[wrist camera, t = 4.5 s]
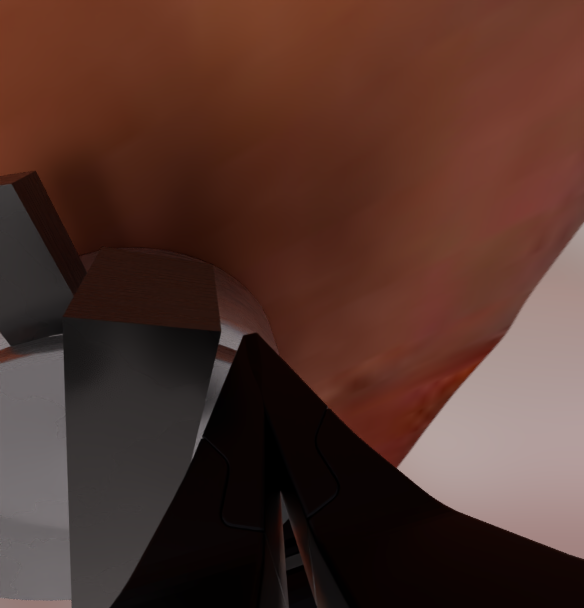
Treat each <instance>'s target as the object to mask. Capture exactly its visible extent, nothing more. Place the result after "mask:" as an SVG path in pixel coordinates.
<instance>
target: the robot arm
mask: <svg viewBox="0 0 584 608" xmlns="http://www.w3.org/2000/svg"><path fill="white" fill-rule="evenodd" d="M280 492H281V495H282V498H283V501H284V504H285V507H286V511H287V514H288V517H289V519H288V520H287V521H286V522H285V523H284V524H283V522H282V509H281V495H280ZM109 608H584V559H582V558H579V557H575V556H572V555H569V554H567V553H564V552H561V551H559V550H556V549H553V548H551V547H548V546H546V545H543V544H541V543H538V542H535V541H533V540H530V539H528V538H525V537H522V536H520V535H517V534H514V533H512V532H509V531H507V530H504V529H501V528H499V527H496V526H494V525H491V524H489V523H486V522H483V521H481V520H478V519H476V518H473V517H470V516H468V515H465V514H463V513H460V512H458V511H455V510H454V509H452V508H450V507H448V506H446V505H444V504H442V503H441V502H439V501H437V500H436V499H435V498H433V497H432V496H430V495H429V494H428V493H426V492H425V491H424V490H422V489H421V488H420V487H419V486H417V485H416V484H415V483H414V482H413V481H411V480H410V479H409V478H408V477H406V476H405V475H404V474H403V473H402V472H400V471H399V470H398V469H397V468H395V467H394V466H393V465H392V464H391V463H389V462H388V461H387V460H386V459H384V458H383V457H382V456H381V455H379V454H378V453H377V452H376V451H375V450H373V449H372V448H371V447H370V446H369V445H368V444H366V443H365V442H364V441H363V440H362V439H361V438H359V437H358V436H357V435H356V434H355V433H354V432H353V431H352V430H351V429H350V428H349V427H348V426H347V425H346V424H345V423H344V422H343V421H341V420H340V419H339V417H338V416H337V415H336V414H335V413H334V412H333V411H332V410H331V409H330V408H328V406H327V405H326V404H325V403H324V402H323V401H322V400H321V399H320V398H319V397H318V396H317V395H316V394H315V393H314V391H313V390H312V389H311V388H310V387H309V386H308V385H307V384H306V383H305V382H304V381H303V380H302V379H301V378H300V377H299V376H298V375H297V374H296V373H295V372H294V371H293V369H292V368H291V367H290V366H289V365H288V364H287V363H286V362H285V361H284V360H283V359H282V358H281V357H280V356H279V355H278V354H277V353H276V352H275V351H274V350H273V349H272V347H271V346H270V345H269V344H268V343H267V342H266V341H265V340H264V339H263V338H262V337H261V336H260V335H259V333H257V332H256V333H251V334H246V335H243V336H242V340H241V342H240V344H239V347H238V349H237V352H236V354H235V357H234V359H233V362H232V364H231V366H230V369H229V371H228V374H227V376H226V379H225V381H224V384H223V386H222V388H221V391H220V393H219V396H218V398H217V401H216V403H215V406H214V408H213V410H212V413H211V415H210V418H209V420H208V423H207V425H206V428H205V430H204V432H203V435H202V439H201V440H200V442H199V444H198V447H197V449H196V452H195V454H194V456H193V459H192V461H191V463H190V465H189V467H188V470H187V472H186V474H185V476H184V478H183V480H182V482H181V484H180V486H179V488H178V490H177V492H176V494H175V496H174V498H173V500H172V502H171V503H170V505H169V507H168V509H167V511H166V512H165V514H164V516H163V518H162V520H161V522H160V523H159V525H158V527H157V529H156V531H155V533H154V534H153V536H152V538H151V540H150V542H149V544H148V545H147V547H146V549H145V551H144V553H143V554H142V556H141V558H140V560H139V562H138V564H137V565H136V567H135V569H134V571H133V573H132V574H131V576H130V578H129V580H128V581H127V583H126V584H125V586H124V587H123V589H122V590H121V592H120V593H119V595H118V596H117V598H116V599H115V600H114V602H113V603H112V605H111V606H110V607H109Z"/></svg>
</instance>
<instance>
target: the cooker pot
mask: <svg viewBox="0 0 584 608" xmlns="http://www.w3.org/2000/svg"><path fill="white" fill-rule="evenodd" d="M117 249H122V250H128V251H134V252H141V253H147V254H153V255H159V256H165V257H172V258H178V259H184V260H190V261H197V262H203V263H207V262H205V261H203V260H200V259H197V258H194V257H191V256H188V255H185V254H181V253H176V252H172V251H167V250H161V249H151V248H117ZM98 252H99V251H96V252H92V253H88V254H84V255H80V256H79V255H78V253H77V251H76V249H75V247H74V245H73V243H72V241H71V239H70V237H69V235H68V233H67V232H66V230H65V228H64V226H63V224H62V222H61V220H60V218H59V216H58V214H57V212H56V210H55V208H54V206H53V204H52V202H51V200H50V198H49V196H48V194H47V192H46V190H45V188H44V186H43V184H42V182H41V180H40V178H39V176H38V174H37V172H36V171H30V172H23V173H17V174H10V175H4V176H0V350H2V349H4V348H7V347H10V346H14V345H18V344H21V343H25V342H29V341H33V340H36V339H40V338H44V337H51V336H57V335H63V323H62V317H63V315H64V313H65V311H66V309H67V308H68V306H69V304H70V302H71V300H72V299H73V297H74V295H75V293H76V292H77V290H78V288H79V286H80V284H81V283H82V281H83V279H84V277H85V276H86V274H87V272H88V270H89V268H90V267H91V265H92V263H93V261H94V259H95V258H96V256H97V254H98ZM213 267H214V275H215V283H216V291H217V299H218V307H219V315H220V323H221V331H222V332H221V336H220V340H219V344H220V345H223V346H226V347H229V348H231V349H234V350H237V349H238V347H239V344H240V342H241V340H242V336H243V335H246V334H251V333H256V332H257V333H259V335H260V336H261V337H262V338H263V339H264V340H265V341H266V342H267V343H268V344H269V345H270V346H271V347H272V349H273V350H274V351H275V352H276V353H277V354H278V355H279V356H280V354H279V351H278V348H277V345H276V342H275V339H274V336H273V333H272V330H271V327H270V324H269V321H268V319H267V317H266V315H265V312H264V310H263V309H262V307H261V306H260V304H259V303H258V301H257V300H256V298H255V297H254V296H253V295H252V294H251V293H250V292H249V291H248V290H247V288H245V287H244V286H243V285H242V284H241V283H240V282H238V281H237V280H236V279H235V278H234V277H232V276H230V275H229V274H227V273H226V272H224V271H223V270H221V269H219V268H217V267H215V266H213Z"/></svg>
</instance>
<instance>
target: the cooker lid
mask: <svg viewBox="0 0 584 608" xmlns="http://www.w3.org/2000/svg"><path fill="white" fill-rule="evenodd" d="M62 323H63V335H57V336H51V337H44V338H40V339H36V340H33V341H29V342H25V343H21V344H18V345H14V346H10V347H7V348H4V349H2V350H0V598H9V599H22V600H72V608H109V607H110V606H111V605H112V603H113V602H114V600H115V599H116V598H117V596H118V595H119V593H120V592H121V590H122V589H123V587H124V586H125V584H126V583H127V581H128V580H129V578H130V576H131V574H132V573H133V571H134V569H135V567H136V565H137V564H138V562H139V560H140V558H141V556H142V554H143V553H144V551H145V549H146V547H147V545H148V544H149V542H150V540H151V538H152V536H153V534H154V533H155V531H156V529H157V527H158V525H159V523H160V522H161V520H162V518H163V516H164V514H165V512H166V511H167V509H168V507H169V505H170V503H171V502H172V500H173V498H174V496H175V494H176V492H177V490H178V488H179V486H180V484H181V482H182V480H183V478H184V476H185V474H186V472H187V470H188V467H189V465H190V463H191V461H192V459H193V456H194V454H195V452H196V449H197V447H198V444H199V442H200V440H201V439H202V435H203V432H204V430H205V428H206V425H207V423H208V420H209V418H210V415H211V413H212V410H213V408H214V406H215V403H216V401H217V398H218V396H219V393H220V391H221V388H222V386H223V384H224V381H225V379H226V376H227V374H228V371H229V369H230V366H231V364H232V362H233V359H234V357H235V354H236V352H237V350H234V349H231V348H229V347H226V346H223V345H220V344H219V340H220V336H221V332H222V331H221V323H220V315H219V307H218V299H217V291H216V283H215V275H214V267H213V264H209V263H203V262H197V261H190V260H184V259H178V258H172V257H165V256H159V255H153V254H147V253H141V252H134V251H128V250H122V249H116V248H109V247H103V246H102V247H101V249H100V251H99V252H98V254H97V256H96V258H95V259H94V261H93V263H92V265H91V267H90V268H89V270H88V272H87V274H86V276H85V277H84V279H83V281H82V283H81V284H80V286H79V288H78V290H77V292H76V293H75V295H74V297H73V299H72V300H71V302H70V304H69V306H68V308H67V309H66V311H65V313H64V315H63V317H62ZM280 495H281V492H280ZM281 509H282V522H283V524H284V523H285V522H286V521H287V520H288V519H289V517H288V514H287V511H286V507H285V504H284V501H283V498H282V495H281Z"/></svg>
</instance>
